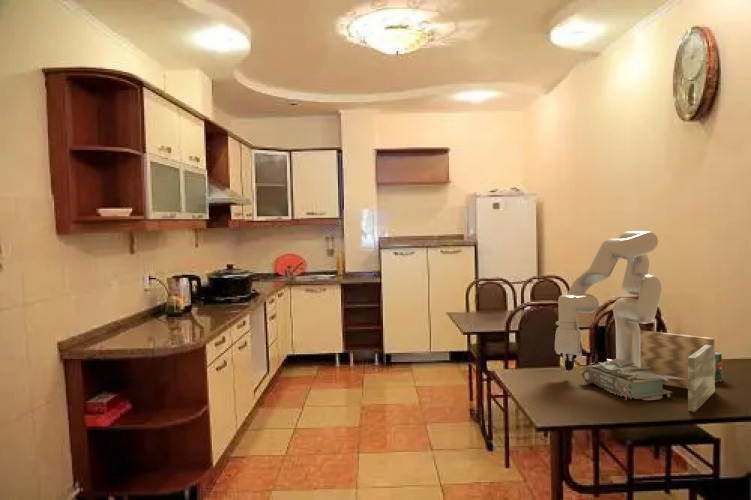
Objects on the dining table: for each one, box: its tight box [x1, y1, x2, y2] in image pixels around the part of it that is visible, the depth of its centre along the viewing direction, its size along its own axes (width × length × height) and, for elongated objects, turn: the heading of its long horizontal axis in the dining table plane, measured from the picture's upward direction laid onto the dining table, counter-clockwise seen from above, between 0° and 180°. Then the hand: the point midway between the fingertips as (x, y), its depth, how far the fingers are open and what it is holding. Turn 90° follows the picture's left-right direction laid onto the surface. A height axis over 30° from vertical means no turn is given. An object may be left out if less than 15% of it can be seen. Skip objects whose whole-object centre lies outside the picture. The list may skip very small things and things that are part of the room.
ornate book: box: [581, 357, 683, 401], centre depth 197 cm, size 23×10×30 cm
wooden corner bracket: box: [640, 330, 716, 413], centre depth 190 cm, size 25×28×20 cm
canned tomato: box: [715, 350, 723, 383], centre depth 207 cm, size 8×8×11 cm
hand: (569, 369), depth 212 cm, fingers closed
